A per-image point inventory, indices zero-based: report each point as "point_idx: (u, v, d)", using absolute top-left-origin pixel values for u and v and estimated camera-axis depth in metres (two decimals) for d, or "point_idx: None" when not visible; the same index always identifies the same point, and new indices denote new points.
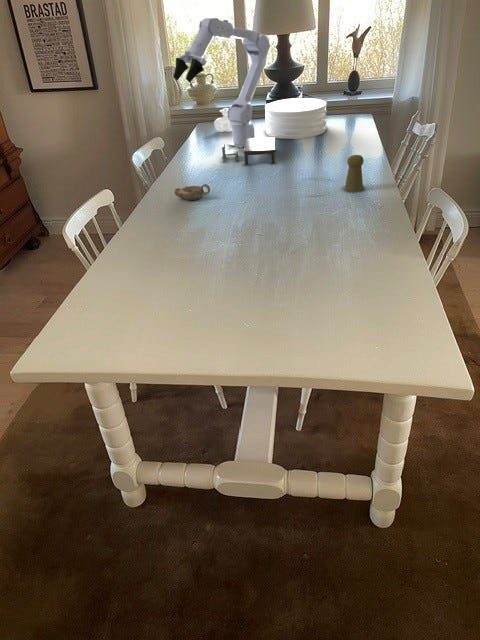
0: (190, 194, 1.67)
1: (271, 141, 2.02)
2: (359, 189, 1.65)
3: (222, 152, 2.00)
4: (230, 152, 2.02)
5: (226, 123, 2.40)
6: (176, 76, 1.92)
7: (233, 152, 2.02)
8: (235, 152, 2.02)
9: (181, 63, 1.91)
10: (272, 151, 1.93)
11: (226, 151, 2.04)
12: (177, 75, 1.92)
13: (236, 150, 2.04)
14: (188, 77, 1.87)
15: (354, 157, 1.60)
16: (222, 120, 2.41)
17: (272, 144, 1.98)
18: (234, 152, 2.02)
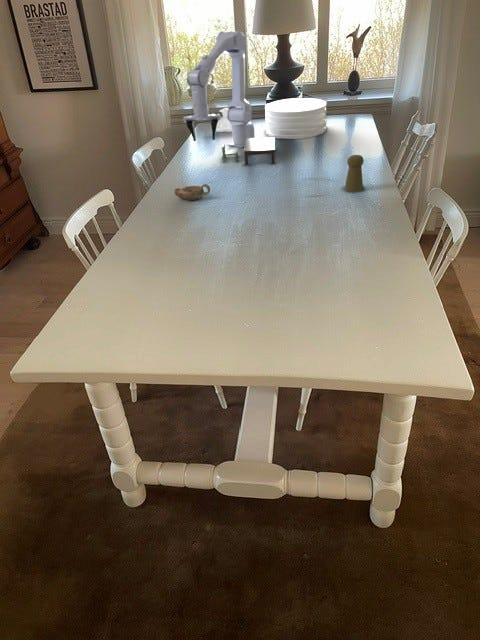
0: (190, 194, 1.67)
1: (271, 141, 2.02)
2: (359, 189, 1.65)
3: (222, 152, 2.00)
4: (230, 152, 2.02)
5: (226, 123, 2.40)
6: (195, 138, 2.00)
7: (233, 152, 2.02)
8: (235, 152, 2.02)
9: (193, 125, 1.97)
10: (272, 151, 1.93)
11: (226, 151, 2.04)
12: (195, 136, 2.00)
13: (236, 150, 2.04)
14: (214, 137, 1.99)
15: (354, 157, 1.60)
16: (222, 120, 2.41)
17: (272, 144, 1.98)
18: (234, 152, 2.02)
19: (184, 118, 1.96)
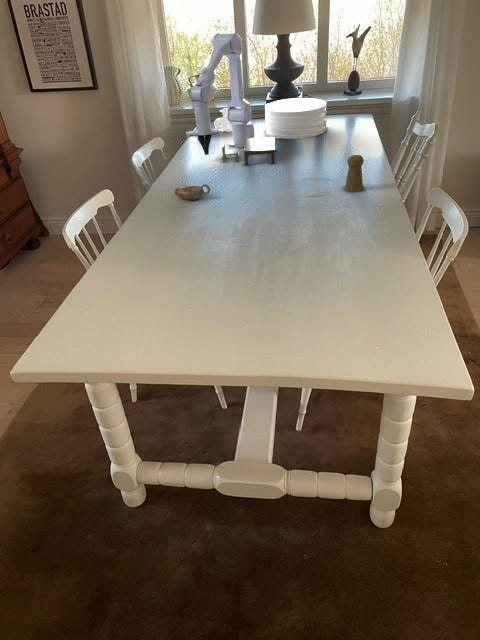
0: (190, 194, 1.67)
1: (271, 141, 2.02)
2: (359, 189, 1.65)
3: (222, 152, 2.00)
4: (230, 152, 2.02)
5: (226, 123, 2.40)
6: None
7: (233, 152, 2.02)
8: (235, 152, 2.02)
9: (204, 139, 2.00)
10: (272, 151, 1.93)
11: (226, 151, 2.04)
12: None
13: (236, 150, 2.04)
14: (208, 152, 2.03)
15: (354, 157, 1.60)
16: (222, 120, 2.41)
17: (272, 144, 1.98)
18: (234, 152, 2.02)
19: (187, 133, 1.99)
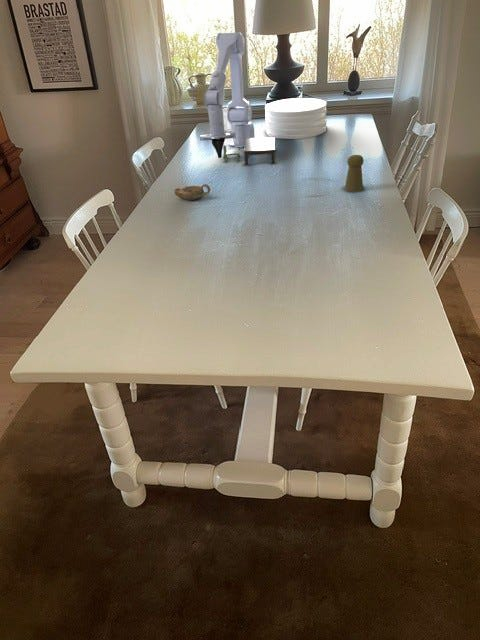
0: (190, 194, 1.67)
1: (271, 141, 2.02)
2: (359, 189, 1.65)
3: (224, 152, 2.00)
4: (231, 152, 2.02)
5: (226, 123, 2.40)
6: None
7: (234, 152, 2.02)
8: (236, 152, 2.01)
9: None
10: (272, 151, 1.93)
11: (227, 151, 2.04)
12: None
13: (237, 150, 2.04)
14: (221, 155, 2.03)
15: (354, 157, 1.60)
16: None
17: (272, 144, 1.98)
18: (235, 152, 2.02)
19: (200, 136, 1.99)
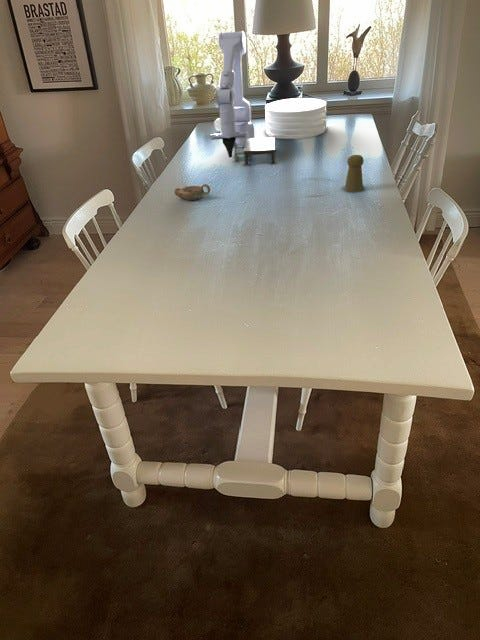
0: (190, 194, 1.67)
1: (271, 141, 2.02)
2: (359, 189, 1.65)
3: (234, 151, 2.00)
4: (242, 151, 2.02)
5: None
6: None
7: None
8: None
9: None
10: (272, 151, 1.93)
11: (238, 150, 2.03)
12: None
13: None
14: None
15: (354, 157, 1.60)
16: None
17: (272, 144, 1.98)
18: None
19: (211, 136, 1.99)
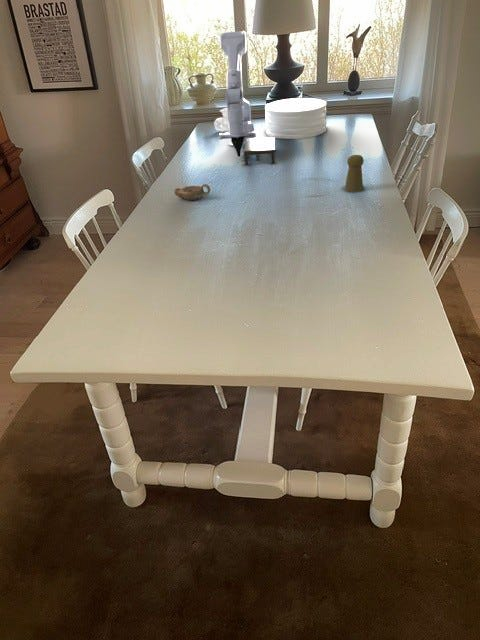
0: (190, 194, 1.67)
1: (271, 141, 2.02)
2: (359, 189, 1.65)
3: (243, 151, 1.99)
4: None
5: (226, 123, 2.40)
6: None
7: None
8: None
9: (237, 141, 1.99)
10: (272, 151, 1.93)
11: None
12: None
13: None
14: (240, 154, 2.03)
15: (354, 157, 1.60)
16: (222, 120, 2.41)
17: (272, 144, 1.98)
18: None
19: (220, 135, 1.98)
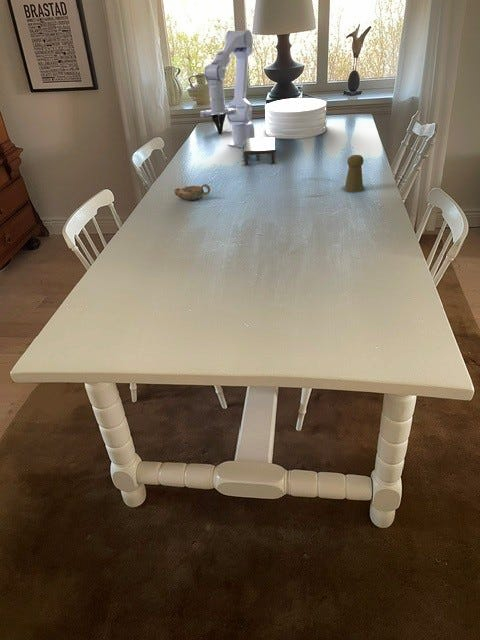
0: (190, 194, 1.67)
1: (271, 141, 2.02)
2: (359, 189, 1.65)
3: (243, 151, 1.99)
4: None
5: (226, 123, 2.40)
6: None
7: None
8: None
9: (218, 119, 1.99)
10: (272, 151, 1.93)
11: None
12: None
13: None
14: (222, 132, 2.02)
15: (354, 157, 1.60)
16: None
17: (272, 144, 1.98)
18: None
19: (201, 113, 1.98)
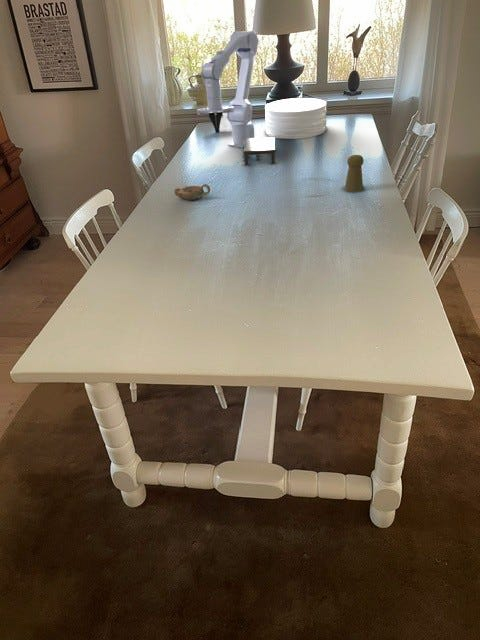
0: (190, 194, 1.67)
1: (271, 141, 2.02)
2: (359, 189, 1.65)
3: (243, 151, 1.99)
4: None
5: (226, 123, 2.40)
6: None
7: None
8: None
9: (215, 117, 2.02)
10: (272, 151, 1.93)
11: None
12: None
13: None
14: None
15: (354, 157, 1.60)
16: (222, 120, 2.41)
17: (272, 144, 1.98)
18: None
19: (198, 111, 2.01)
